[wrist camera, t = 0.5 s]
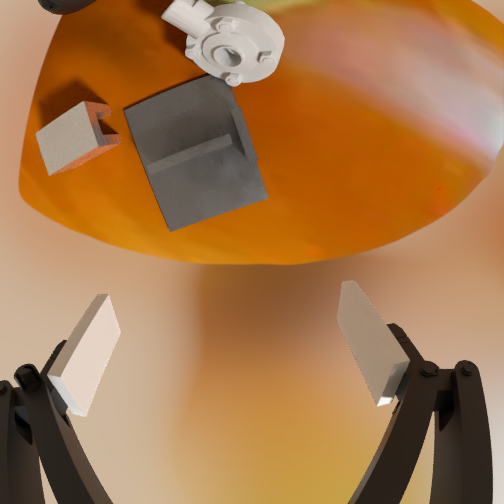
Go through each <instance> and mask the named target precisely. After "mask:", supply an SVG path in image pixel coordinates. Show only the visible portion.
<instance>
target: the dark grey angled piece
mask: <svg viewBox="0 0 504 504" xmlns="http://www.w3.org/2000/svg"><path fill="white" fill-rule="evenodd" d="M124 113H125V116H126V119H127V121H128V124H129V127H130V130H131V133H132V136H133V139H134V141H135V144H136V147H137V150H138V152H139V155H140V158H141V160H142V163H143V166H144V168H145V171H146V174H147V176H148V179H149V181H150V184H151V186H152V189H153V191H154V194H155V196H156V199H157V201H158V204H159V206H160V209H161V211H162V213H163V216H164V218H165V221H166V223H167V225H168V228H169V230H170V232H171V231H174V230H177V229H180V228H182V227H185V226H188V225H191V224H194V223H196V222H199V221H202V220H205V219H208V218H211V217H214V216H217V215H219V214H222V213H225V212H228V211H231V210H234V209H237V208H240V207H243V206H246V205H249V204H252V203H255V202H258V201H262V200H265V199H268V196H267V193H266V190H265V187H264V183H263V180H262V177H261V174H260V171H259V168H258V165H257V162H256V160H258V159H257V156H256V153H255V150H254V147H253V144H252V141H251V138H250V135H249V132H248V129H247V126H246V123H245V120H244V117H243V114H242V111H241V109H240V107H238V106H237V103H236V100H235V97H234V95H233V92H232V89H231V86H230V85H228V84H227V83H226V81H225V80H223V79H221V78H218V77H215V76H213V75H208V76H205V77H202V78H200V79H197V80H194V81H191V82H189V83H186V84H183V85H181V86H178V87H176V88H173V89H171V90H168V91H166V92H164V93H161V94H159V95H157V96H154V97H152V98H150V99H148V100H145V101H143V102H141V103H139V104H137V105H135V106H133V107H131V108H128V109H126V110H124Z"/></svg>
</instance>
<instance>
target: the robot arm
mask: <svg viewBox="0 0 504 504" xmlns="http://www.w3.org/2000/svg"><path fill="white" fill-rule="evenodd" d="M94 1H96V0H38V2H39V3H40V5H41V6H42V7H43V8H44V9H45V10H47V11H49V12H51V13H53V14H59V15H62V14H69V13H72V12H75V11H78V10H80V9H82V8H84V7H86V6H88V5H90V4H91V3H93V2H94ZM337 323H338V325H339V327H340V329H341V331H342V333H343V335H344V337H345V339H346V341H347V343H348V345H349V347H350V349H351V352H352V354H353V356H354V357H355V360H356V362H357V364H358V366H359V368H360V371H361V372H362V375H363V377H364V379H365V381H366V383H367V385H368V388H369V390H370V392H371V394H372V397H373V399H374V401H375V403H376V406H380V405H384V404H387V403H391V402H392V401H393V398H394V396H395V394H396V396H397V398H398V400H399V401H398V403H397V405H396V407H395V409H394V411H393V413H392V414H393V415H392V418H391V420H390V423H389V425H388V427H387V430H386V432H385V434H384V436H383V438H382V441H381V443H380V445H379V447H378V449H377V451H376V453H375V455H374V457H373V459H372V461H371V463H370V465H369V467H368V469H367V471H366V473H365V475H364V476H363V478H362V480H361V482H360V484H359V485H358V487H357V489H356V491H355V492H354V494H353V496H352V497H351V499H350V501H349V502H348V504H399V503H400V501H401V499H402V497H403V495H404V492H405V490H406V488H407V485H408V483H409V481H410V478H411V476H412V473H413V471H414V468H415V465H416V463H417V460H418V457H419V454H420V452H421V449H422V446H423V443H424V440H425V436H426V433H427V430H428V426H429V423H430V419H431V416H432V412H433V411H434V412H435V440H434V441H435V442H434V464H433V478H432V487H431V496H430V503H429V504H492V501H493V470H492V469H493V468H492V451H491V439H490V430H489V423H488V416H487V410H486V403H485V397H484V392H483V387H482V382H481V377H480V373H479V370H478V368H477V366H476V365H475V364H474V363H472V362H470V361H466V360H463V361H459V362H458V363H457V364H456V366H455V368H454V369H439V367H438V366H437V365H436V364H435V363H433V362H430V361H425V360H424V359H423V358H422V356H421V355H420V353H419V352H418V350H417V349H416V347H415V346H414V345H413V343H412V342H411V341H410V339H409V338H408V337H407V335H406V333H405V332H404V331H403V329H402V328H400V327H399V326H398V325H396V324H394V323H392V324H387V325H386V324H385V322H384V321H383V319H382V318H381V316H380V315H379V313H378V312H377V311H376V309H375V308H374V306H373V305H372V303H371V302H370V301H369V299H368V298H367V296H366V295H365V294H364V292H363V291H362V290H361V288H360V287H359V285H358V284H357V283H356V281H355V280H353V281H343V282H342V287H341V295H340V302H339V310H338V317H337ZM120 333H121V331H120V328H119V325H118V322H117V319H116V316H115V313H114V310H113V306H112V303H111V300H110V297H109V294H98V295H97V296H96V298H95V299H94V300H93V302H92V303H91V305H90V306H89V308H88V309H87V311H86V312H85V314H84V315H83V317H82V318H81V320H80V321H79V323H78V325H77V326H76V327H75V329H74V331H73V332H72V334H71V335H70V337H69V339H68V340H63V341H62V342H61V343H60V344H58V345H57V347H56V348H55V350H54V351H53V354H51V356H50V359H49V360H48V361H47V363H46V364H45V366H44V368H43V369H42V371H41V373H40V374H39V372H38V370H37V369H36V367H35V366H34V365H33V364H25V365H22V366H21V367H19V368H18V369H17V370H16V372H15V374H14V379H15V381H16V382H17V383H18V385H19V387H15V388H13V387H12V385H11V384H10V382H9V381H7V380H2V381H0V504H45V499H44V493H43V487H42V480H41V473H40V464H39V457H40V460H41V463H42V465H43V468H44V471H45V474H46V476H47V479H48V481H49V484H50V486H51V489H52V491H53V493H54V496H55V498H56V500H57V502H58V504H113V503H112V501H111V499H110V498H109V497H108V495H107V493H106V491H105V490H104V488H103V486H102V485H101V483H100V481H99V479H98V478H97V476H96V474H95V472H94V470H93V468H92V467H91V465H90V463H89V461H88V459H87V457H86V455H85V453H84V451H83V449H82V447H81V445H80V442H79V440H78V438H77V436H76V434H75V431H74V429H73V427H72V424H71V422H70V419H69V417H68V416H67V414H66V413H65V412H66V410H67V408H69V409H70V410H71V412H72V413H73V414H74V415H79V416H84V417H86V415H87V413H88V410H89V407H90V405H91V402H92V400H93V397H94V395H95V392H96V389H97V387H98V384H99V382H100V380H101V377H102V374H103V372H104V370H105V368H106V365H107V363H108V361H109V358H110V356H111V354H112V351H113V349H114V347H115V345H116V342H117V340H118V338H119V336H120Z"/></svg>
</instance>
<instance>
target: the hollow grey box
mask: <svg viewBox="0 0 504 504" xmlns="http://www.w3.org/2000/svg"><path fill="white" fill-rule="evenodd" d="M110 114H112V113H111V110H110V107H109V105H106V104H100V103H94V102H88V101H83V102H81V103H79V104H78V105H76V106H75V107H73V108H72V109H70V110H68V111H67V112H65V113H64V114H62V115H61V116H59V117H58V118H56V119H55V120H54V121H52V122H51V123H49V124H48V125H46V126H45V127H44V128H42V129H41V130H40V131H38V132H37V133H36V137H37V140H38V144H39V147H40V150H41V151H40V156H41V158H42V159H43V160H44V162H45V165H46V168H47V171H48V174H49V176H50V175H53V174H57V173H60V172H63V171H66V170H69V169H73V168H76V167H78V166H80V165H82V164H84V163H85V162H87V161H89V160H91V159H93V158H94V157H96V156H98V155H100V154H102V153H104V152H106V151H107V150H109V149H111V148H113V147H115V146H117V145H119V144H121V143H122V142H121V139H120V136H119V134H110V135H103V134H102V131H101V129H100V126H99V123H98V121H99V120H101V119H103V118H105V117H107V116H108V115H110Z"/></svg>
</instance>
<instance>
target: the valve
mask: <svg viewBox="0 0 504 504" xmlns="http://www.w3.org/2000/svg"><path fill="white" fill-rule="evenodd" d="M161 18H162V19H163V20H165V21H167V22H169V23H170V24H172V25H174V26H175V27H177V28H179V29H180V30H182V31H184V32H185V33H187V34H188V36H187V40H186V46H187V48H186V51H185V55H186V56H187V57H188V58H190V59H192V60H193V61H194V62H195V63H196V64H197V65H198V66H199V67H200V68H202V69H203V70H204V71H206V72H207V73H209V74H211V75H213V76H215V77H218V78H221V79H223V80H225V81H226V83H227V84H228V85H231V86H238V85H239V84H241V82H245V83H246V82H254V81H259V80H261V79H264V78H266V77H268V76H269V75H271V74H272V73H273V72H274V70H275V69H276V67H277V65H278V62H279V59H280V56H281V53H282V50H283V47H284V40H285V37H284V36H283V33H282V31H281V29H280V27H279V26H278V24H277V23H276V22H275V21H274V20H273V19H272V18H271V17H270V16H268V15H267V14H266V13H264V12H262V11H260V10H258V9H256V8H254V7H251V6H247V5H246V4H245V3H244V2H242V1H234V2H232V3H231V4H223V5H218V6H215V7H212V6H211V5H209V4H208V3H206V2H205V1H203V0H197V1H195V0H175V1H174V2H173V3H172V4H171V5H170V6H169V7H168V8H167V10H166V11H165V12H164V13H163V14H162V16H161Z"/></svg>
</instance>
